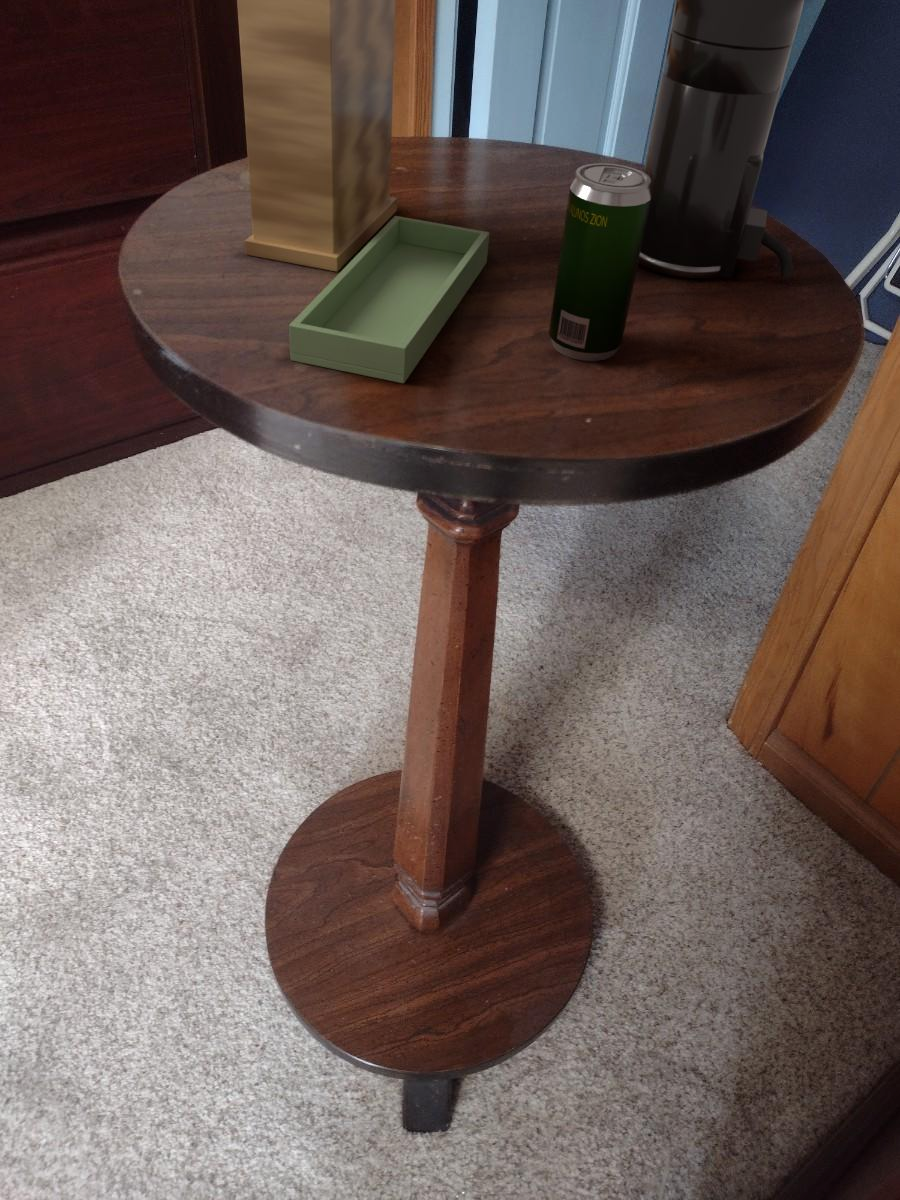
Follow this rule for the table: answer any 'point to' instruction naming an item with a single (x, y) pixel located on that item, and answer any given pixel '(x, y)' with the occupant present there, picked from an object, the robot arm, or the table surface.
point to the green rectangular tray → (390, 300)
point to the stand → (317, 125)
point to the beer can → (598, 260)
